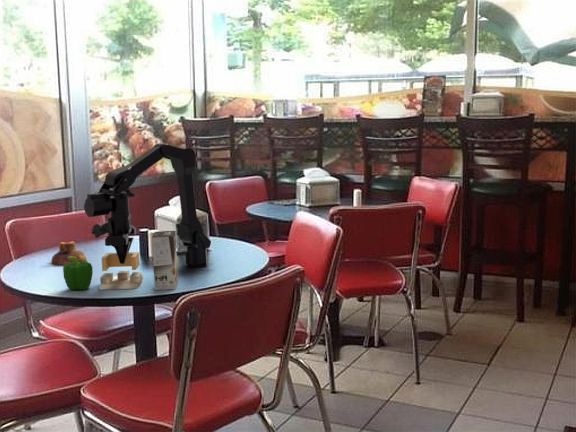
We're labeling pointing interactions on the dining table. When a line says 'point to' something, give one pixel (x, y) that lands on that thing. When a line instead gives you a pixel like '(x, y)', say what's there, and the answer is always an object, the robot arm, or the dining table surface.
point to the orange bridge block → (113, 261)
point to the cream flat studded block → (121, 280)
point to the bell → (67, 254)
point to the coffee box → (164, 260)
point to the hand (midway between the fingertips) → (122, 262)
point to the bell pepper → (77, 274)
